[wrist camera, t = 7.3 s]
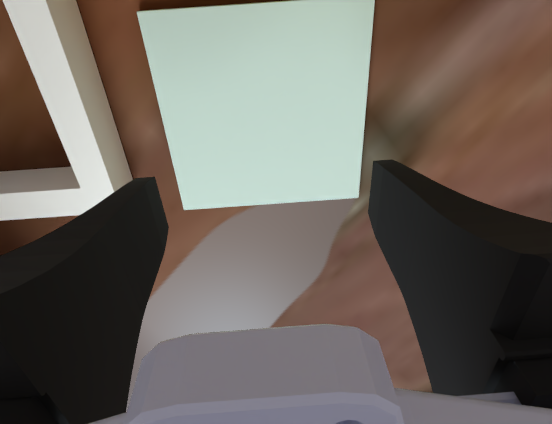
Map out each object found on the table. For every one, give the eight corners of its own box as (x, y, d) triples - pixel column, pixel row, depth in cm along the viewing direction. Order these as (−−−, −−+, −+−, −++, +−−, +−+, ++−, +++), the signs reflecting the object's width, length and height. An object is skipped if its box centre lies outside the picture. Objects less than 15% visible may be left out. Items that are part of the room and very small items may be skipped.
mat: (356, 194, 21) (358, 197, 21) (185, 206, 21) (184, 210, 21) (372, -6, 16) (375, -5, 15) (139, 10, 16) (136, 12, 15)
